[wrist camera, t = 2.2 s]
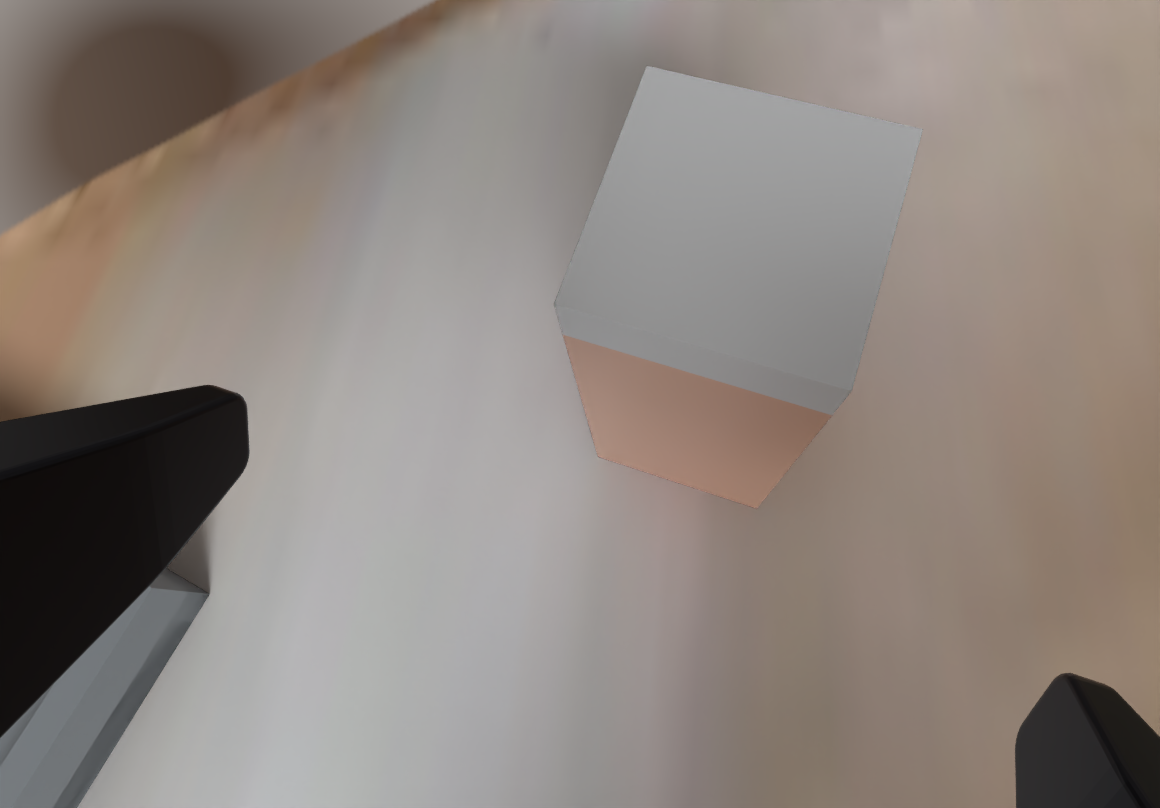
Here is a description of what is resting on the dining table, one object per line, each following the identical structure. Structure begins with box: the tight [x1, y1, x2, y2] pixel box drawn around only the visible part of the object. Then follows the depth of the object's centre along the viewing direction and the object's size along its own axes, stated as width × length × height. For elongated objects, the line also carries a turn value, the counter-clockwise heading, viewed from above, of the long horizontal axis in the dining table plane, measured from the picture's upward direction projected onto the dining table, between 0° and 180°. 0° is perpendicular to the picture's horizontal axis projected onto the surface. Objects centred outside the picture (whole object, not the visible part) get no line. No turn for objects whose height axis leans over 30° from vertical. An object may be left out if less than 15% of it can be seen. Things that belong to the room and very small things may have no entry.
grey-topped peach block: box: [554, 66, 923, 509], centre depth 16 cm, size 4×4×10 cm
